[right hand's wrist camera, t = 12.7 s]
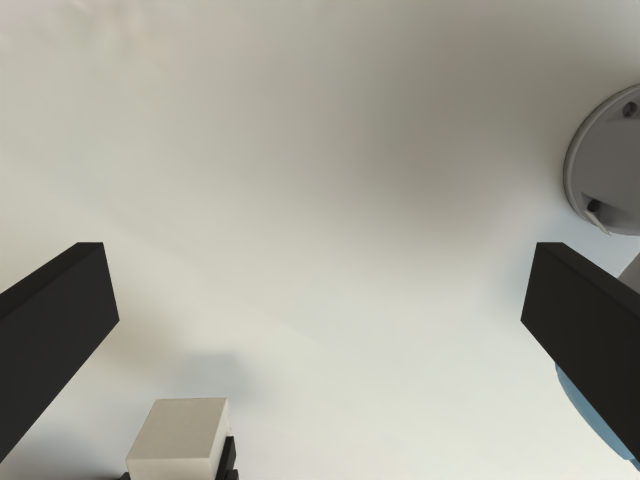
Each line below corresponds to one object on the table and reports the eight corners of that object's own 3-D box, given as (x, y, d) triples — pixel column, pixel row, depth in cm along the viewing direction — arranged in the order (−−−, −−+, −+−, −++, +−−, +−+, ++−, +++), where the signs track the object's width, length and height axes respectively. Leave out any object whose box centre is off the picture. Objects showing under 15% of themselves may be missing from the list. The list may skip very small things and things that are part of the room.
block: (226, 397, 43) (209, 458, 36) (235, 460, 46) (221, 527, 39) (156, 398, 43) (124, 459, 36) (170, 462, 46) (144, 529, 39)
